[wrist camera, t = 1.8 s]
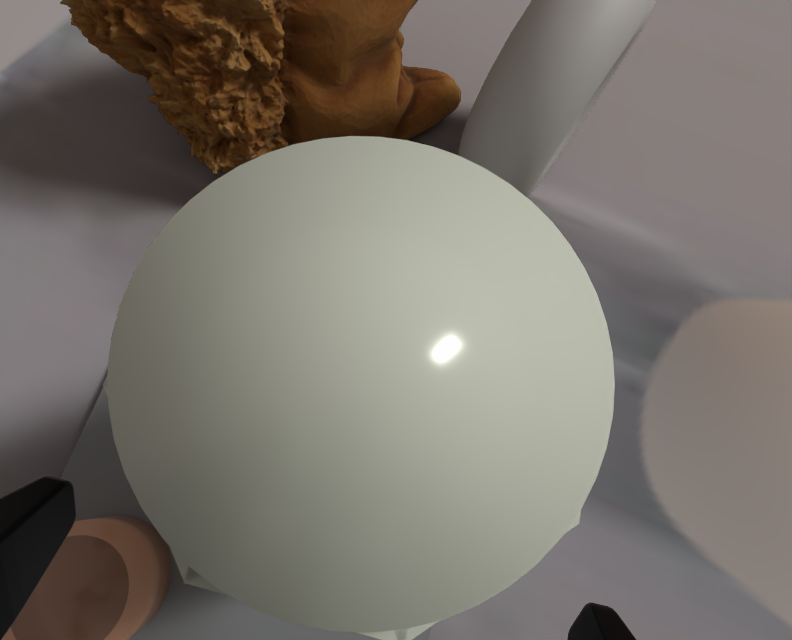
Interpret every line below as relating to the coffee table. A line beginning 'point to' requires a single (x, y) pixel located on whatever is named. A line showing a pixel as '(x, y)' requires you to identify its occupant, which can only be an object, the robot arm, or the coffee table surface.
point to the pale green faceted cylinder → (360, 385)
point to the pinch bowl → (98, 583)
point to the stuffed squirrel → (270, 70)
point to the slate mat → (184, 604)
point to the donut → (548, 84)
